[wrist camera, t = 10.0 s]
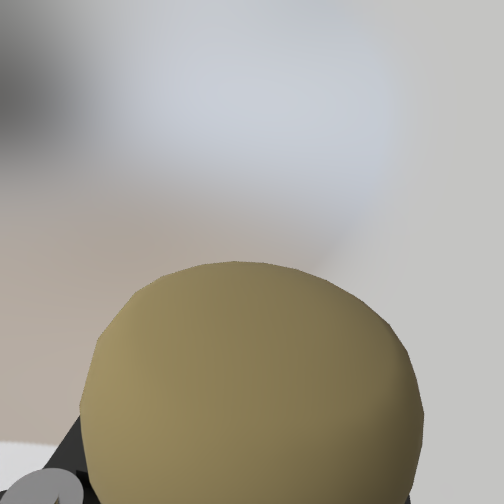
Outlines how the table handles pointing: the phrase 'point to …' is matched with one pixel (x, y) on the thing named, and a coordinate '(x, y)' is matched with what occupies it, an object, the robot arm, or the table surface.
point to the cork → (250, 394)
